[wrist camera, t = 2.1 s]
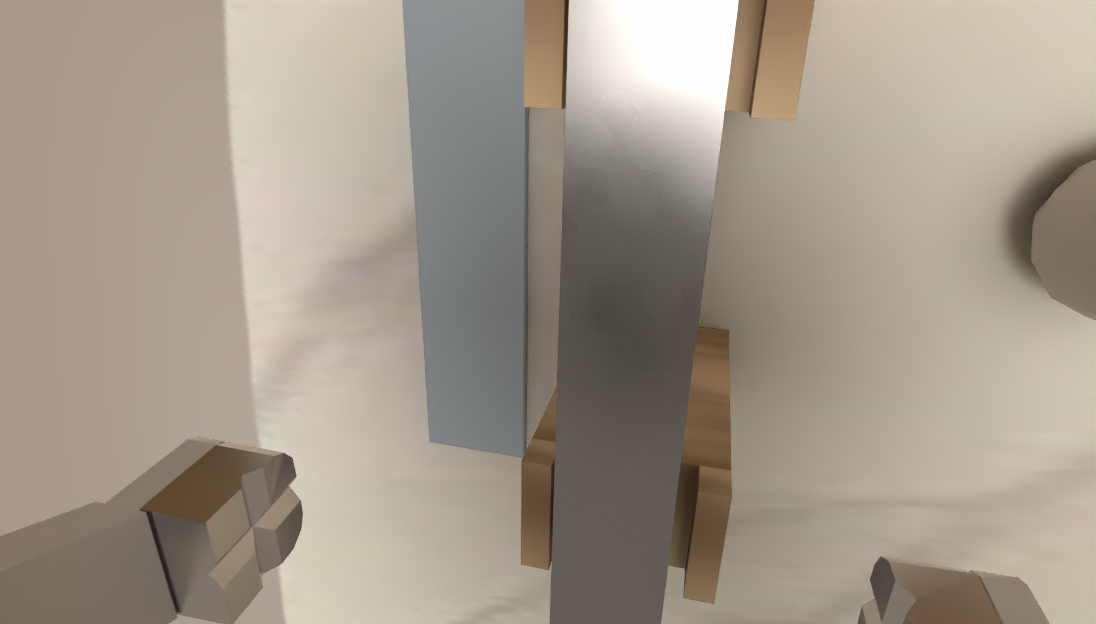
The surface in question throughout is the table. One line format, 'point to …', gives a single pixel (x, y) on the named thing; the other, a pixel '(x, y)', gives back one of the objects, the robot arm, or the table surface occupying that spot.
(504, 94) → the grey flat bar
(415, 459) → the table surface
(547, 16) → the stand near
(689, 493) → the stand far
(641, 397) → the bar
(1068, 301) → the salt shaker
